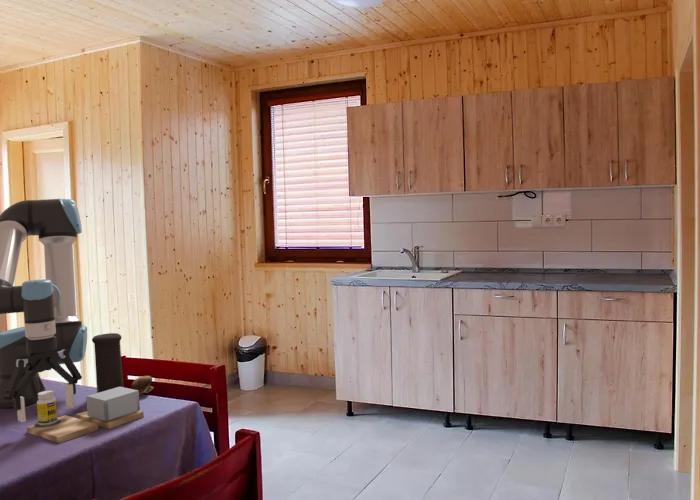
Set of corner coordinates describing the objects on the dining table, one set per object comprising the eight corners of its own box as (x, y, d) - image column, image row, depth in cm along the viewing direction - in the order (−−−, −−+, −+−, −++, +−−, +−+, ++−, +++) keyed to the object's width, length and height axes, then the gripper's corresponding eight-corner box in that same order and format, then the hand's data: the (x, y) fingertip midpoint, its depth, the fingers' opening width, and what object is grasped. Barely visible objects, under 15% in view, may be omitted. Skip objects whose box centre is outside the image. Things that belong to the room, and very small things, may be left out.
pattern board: (76, 419, 179) (75, 403, 179) (110, 408, 188) (109, 393, 188) (109, 428, 170) (107, 412, 169) (143, 416, 178) (142, 401, 178)
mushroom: (162, 380, 206) (149, 367, 204) (154, 395, 199) (140, 382, 197) (145, 390, 208) (132, 377, 206) (136, 406, 201) (122, 393, 199)
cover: (87, 416, 176) (86, 396, 175) (121, 405, 184) (119, 386, 184) (106, 421, 170) (105, 400, 170) (139, 410, 179) (138, 390, 179)
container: (115, 390, 209) (111, 330, 207) (130, 394, 203) (126, 332, 202) (91, 396, 202) (86, 335, 201) (105, 401, 196) (101, 337, 195)
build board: (25, 432, 170) (25, 425, 170) (64, 420, 179) (64, 414, 179) (58, 443, 160) (58, 436, 160) (98, 429, 169) (97, 423, 169)
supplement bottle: (49, 425, 169) (47, 395, 168) (34, 425, 170) (32, 394, 169) (61, 420, 174) (59, 390, 173) (46, 419, 175) (44, 389, 174)
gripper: (0, 347, 158) (6, 430, 159) (91, 329, 178) (96, 403, 179) (-14, 344, 162) (-8, 425, 164) (76, 327, 183) (81, 399, 184)
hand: (47, 413), depth 172 cm, fingers open, 13 cm apart
